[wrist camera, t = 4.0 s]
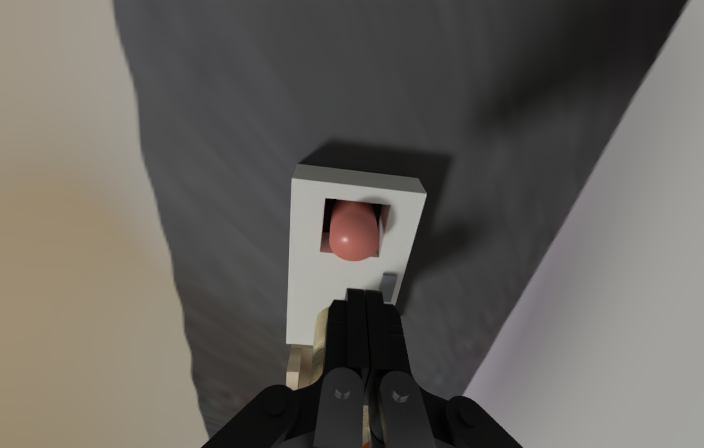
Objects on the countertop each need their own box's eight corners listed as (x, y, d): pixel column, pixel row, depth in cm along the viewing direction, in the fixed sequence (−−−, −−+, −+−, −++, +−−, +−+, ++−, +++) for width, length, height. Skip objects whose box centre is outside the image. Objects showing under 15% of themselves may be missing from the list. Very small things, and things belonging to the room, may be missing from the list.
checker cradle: (297, 163, 19) (290, 180, 17) (418, 178, 20) (428, 196, 18) (290, 319, 26) (285, 346, 24) (379, 326, 27) (382, 353, 25)
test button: (333, 191, 20) (331, 216, 17) (377, 196, 20) (383, 222, 17) (329, 229, 21) (327, 258, 18) (370, 233, 22) (374, 263, 19)
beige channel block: (292, 341, 28) (286, 371, 25) (371, 347, 29) (374, 376, 26) (290, 385, 32) (285, 415, 29) (360, 389, 32) (362, 419, 30)
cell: (317, 303, 22) (304, 427, 15) (365, 307, 22) (375, 430, 15) (314, 335, 24) (301, 460, 17) (358, 338, 24) (364, 462, 17)
